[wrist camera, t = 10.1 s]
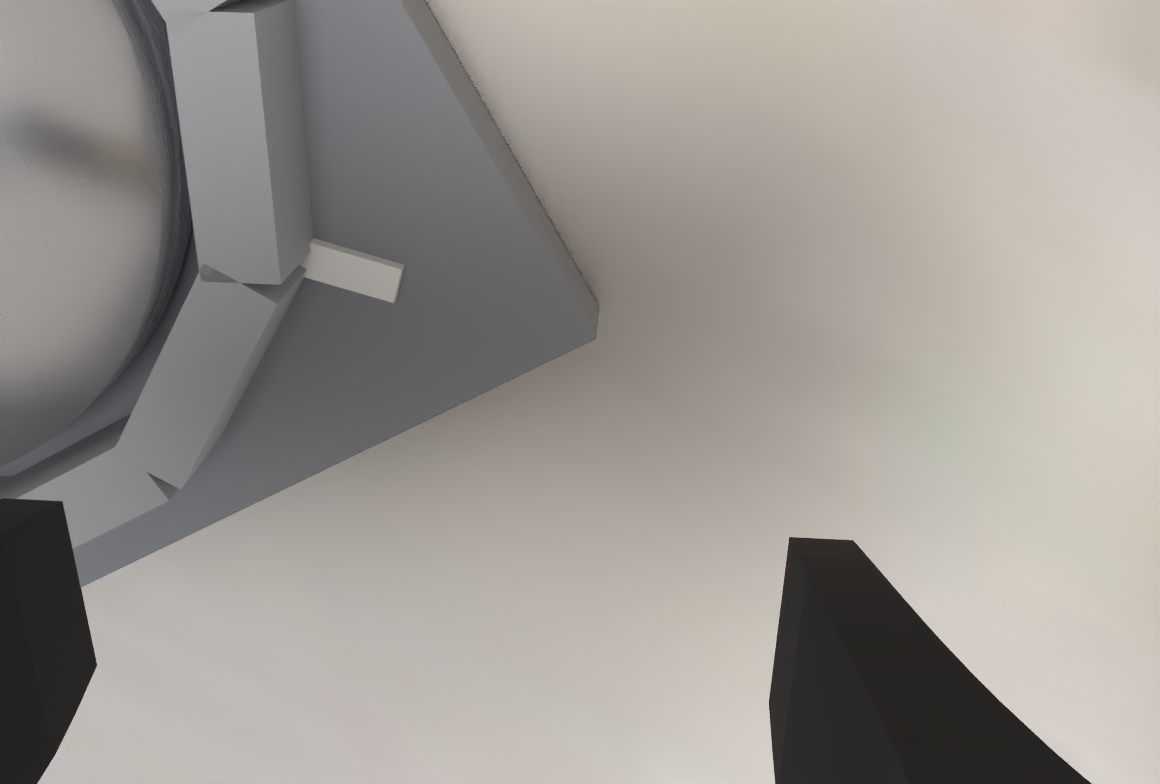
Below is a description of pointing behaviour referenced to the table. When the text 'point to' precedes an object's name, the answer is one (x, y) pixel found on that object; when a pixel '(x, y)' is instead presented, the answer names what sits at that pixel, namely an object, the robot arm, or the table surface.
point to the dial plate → (312, 272)
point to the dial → (83, 204)
